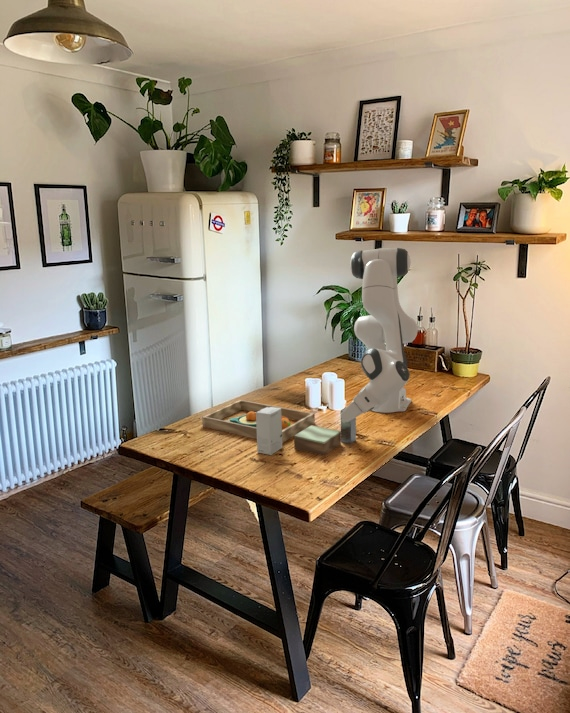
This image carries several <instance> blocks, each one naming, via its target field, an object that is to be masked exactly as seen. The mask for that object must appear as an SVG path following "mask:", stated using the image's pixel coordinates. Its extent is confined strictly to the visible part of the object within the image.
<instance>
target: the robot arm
mask: <svg viewBox="0 0 570 713" xmlns="http://www.w3.org/2000/svg"><path fill="white" fill-rule="evenodd" d="M410 257H411V256H410V255H409V252H408V251H407V249H405V248H400V247H397V248H387V247H379V248H376V249H375V248H374V249H373V248H372V249H368V250H367V249H366V250H357V251H354V252H353V254H352V255H351V258H350V261H349V269H350V271H351V275H352V276H353V277H354V278H356V279H360V280H362V284H361V301H362V305H363V308H364V310H365V312H367V313H368V315H363V316H359V317H358V318H357V319H356V320H355V322H354V325H353V331H354V332H353V333H354V335H355V337H356V338H357V340H360V342H362V343H363V344H364V346H365V348H366V350H365V352H364V353H363V354H362V356H361V358H360V366H361V370H362V371H363V373H364V374H365V376H366V377H367V378H368V379H369V382H368V383H367V384H366V385H365V386H363V387H362V388H361V389H360V390H359V392H358V393H357V394H356V395H355V396H354V397H353V398H352V401H351V402H350V403H349V404H348V405H347V406H346V407H347V408H346V409H345V410H344V411H343V412H342V413H341V414H340V422H341V421H342V422H343V423H348V422H349V421H351V420H353V419H354V418H356V419H357V417H359V416H360V415H362V414H365V413H368V412H371V411H372V412H375V413H385V414H387V413H395V412H396V413H397V412H406V411H407V409H408V408H409V406H410V404H411V402H412V398H410V397H406V396H407V391H406V388H405V386H406V384H407V383H408V381H409V380H410V371H409V369H408V365H409V364H408V359H407V356H406V354H405V350H404V344H407V343H409V344H410V343H413V341H415V339H416V337H417V335H418V331H419V328H418V325H417V323H416V321H415V320H414V319H413V318H411V317H410V316H409V315H408V314H407V313H406V312H405V311H404V309H403V308H402V305H401V303H400V299H399V291H398V278H400V277H404V276H406V275H407V274H408V273H409V270H410V268H411V263H412V262H411V258H410ZM341 417H342V419H341Z"/></svg>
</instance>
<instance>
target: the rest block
mask: <svg viewBox="0 0 570 713" xmlns="http://www.w3.org/2000/svg"><path fill="white" fill-rule="evenodd" d="M293 437H294V438H293V440H294V441H293V442H294V443H293V444H294V445H293V448H294V449H293V450H297V451H302V452H304V453H305V452H306V453H310V454H315V455H319V456H324V457H325V456H327V455H328V454H329V453H331V452H332V451H333V450H335V449H336V448H338V447H339V446H340V445H341V443H342V442H341V430H337V429H331V428H328V427H322V426H317V425H313V424H312V425H311V426H309V427H307V428H306V429H304V430H302V431H301V432H299V433H297V434H296V435H294V436H293Z"/></svg>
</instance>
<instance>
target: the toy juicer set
mask: <svg viewBox="0 0 570 713" xmlns="http://www.w3.org/2000/svg"><path fill="white" fill-rule="evenodd" d="M281 419H282V430H284V429H285V428H287V427H289V426H291V425H292V424H291V422H290V419H288V418H286V417H283V416H282V417H281ZM225 421H228V422H233V423H238V424H243V425H247V426H252V427H256V413H255V412H253V411H247V413H246V414H243V415H241V416H237V417H231V418H229V419H227V420H225Z"/></svg>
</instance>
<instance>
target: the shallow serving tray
mask: <svg viewBox="0 0 570 713" xmlns="http://www.w3.org/2000/svg"><path fill="white" fill-rule="evenodd" d="M266 407H275V408H281V417H282V416H283V417H286V418H288V420H291V419H292V420H291V421H296V420H297V421H296V422H295V423H292V424H291V426H289V427H287V428H285V429H284V430H282V443H285V442H286V441H287V440H289V439H290V438H293V437H294V435H296V434H298V433H299V432H301V431H303V430H304V429H306V428H308V427H309V426H311V425H312V426H313V425H314V424H315V419H316V418H315V415H316V414H315V413H314V412H309V411H302V410H298V409H293V408H286V407H281V406H276V405H272V404H271V405H270V404H266V403H259V402H254V401H248V400H243V399H239V400H237V401H235V402H233V403H231V404H228V405H226V406H224V407H221V408H219V409H218V410H215V411H213V412H210V413H207V414H206V415H203V416H202V417H201V421H202V427H203V428H206V427H207V429H210V428H212V429H211V430H215V429H216V430H215V431H219V430H220V432H224V431H225V432H224V433H228V432H229V433H230V434H232V435H233V434H234V435H237V436H238V435H239V436H242V437H247V438H250V439H256V440H257V428H256V427H252V426H247V425H243V424H238V423H233V422H228V421H226V420H223V419H225V418H228V417H229V416H232V415H233V414H236V413H237V412H240V411H245V412H250V411H253V412H258V411H260V410H261V409H264V408H266Z"/></svg>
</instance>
